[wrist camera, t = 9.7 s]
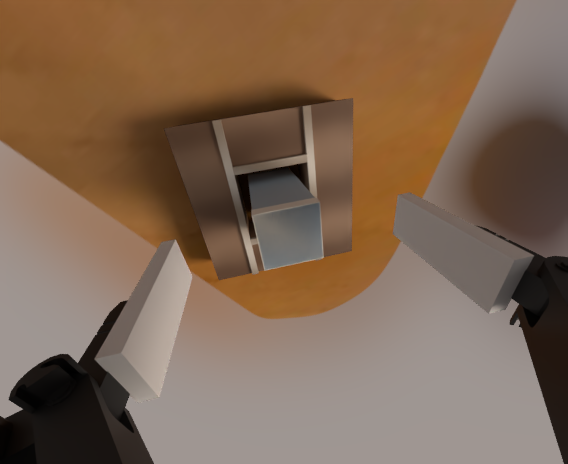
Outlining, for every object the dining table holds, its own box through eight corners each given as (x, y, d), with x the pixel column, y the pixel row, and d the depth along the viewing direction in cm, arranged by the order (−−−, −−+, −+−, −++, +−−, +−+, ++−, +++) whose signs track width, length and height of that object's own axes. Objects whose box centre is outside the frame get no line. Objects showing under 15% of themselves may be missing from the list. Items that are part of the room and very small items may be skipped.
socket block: (176, 125, 19) (162, 128, 16) (336, 100, 20) (354, 98, 17) (221, 260, 26) (218, 282, 22) (338, 235, 27) (352, 252, 24)
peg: (246, 174, 22) (251, 215, 13) (288, 166, 22) (319, 201, 13) (255, 212, 24) (264, 270, 15) (293, 205, 24) (323, 257, 15)
